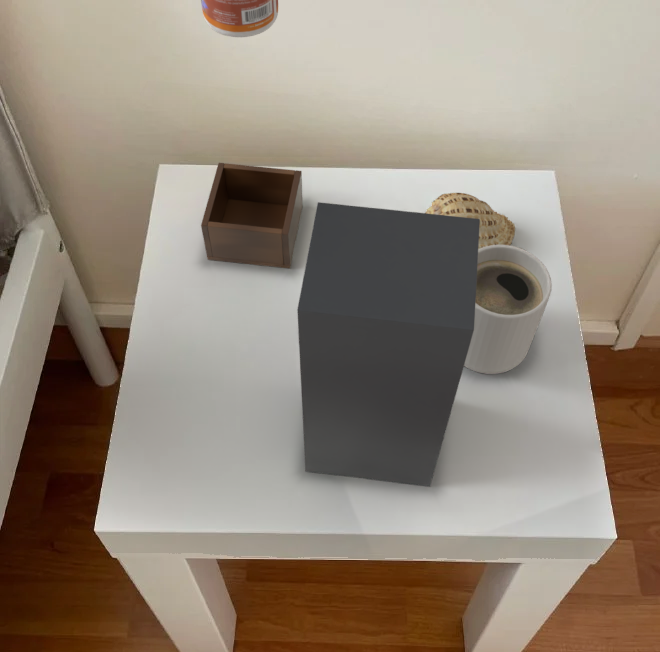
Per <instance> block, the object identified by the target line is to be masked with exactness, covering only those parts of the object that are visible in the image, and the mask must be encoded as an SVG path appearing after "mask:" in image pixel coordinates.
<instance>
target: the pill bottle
mask: <svg viewBox="0 0 660 652" xmlns="http://www.w3.org/2000/svg"><path fill="white" fill-rule="evenodd" d="M200 2H201V10H202V15H203V18H204V21H205V23H206V24H207V25H208V26H209V28H210V29H212V30H213V31H214V32H215V33H217V34H219V35H222V36H226V37H230V38H248V37H249V38H250V37H254V36H258V35H260V34H262V33H264V32H266V31H268V30H269V29H271V27H272V26H273V25H274V23H276V20H277V19H278V15H279V0H200Z"/></svg>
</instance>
